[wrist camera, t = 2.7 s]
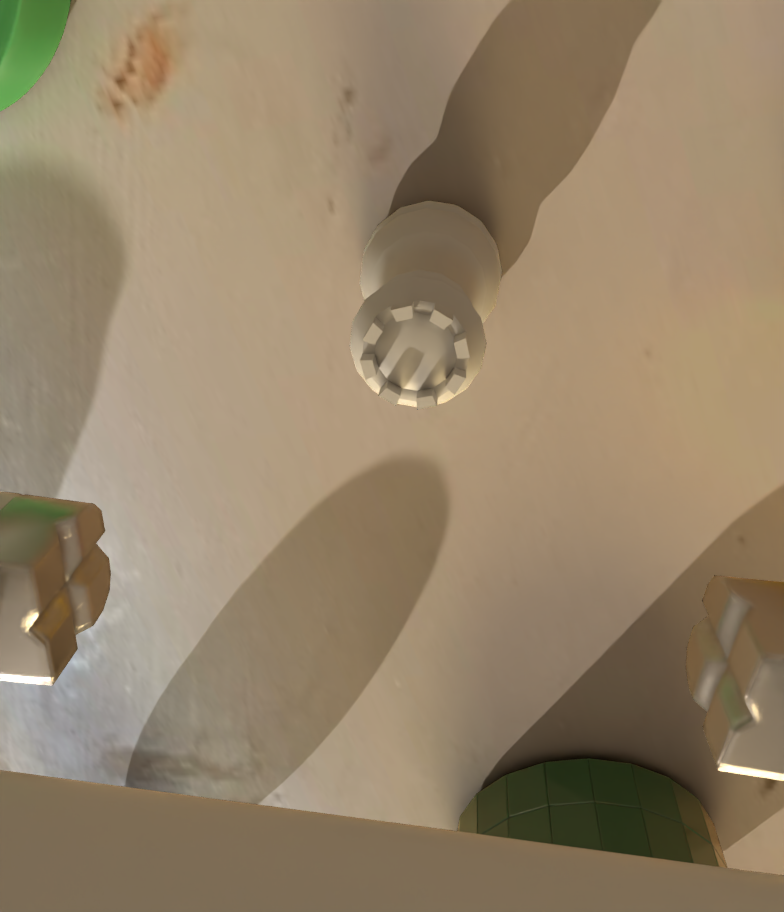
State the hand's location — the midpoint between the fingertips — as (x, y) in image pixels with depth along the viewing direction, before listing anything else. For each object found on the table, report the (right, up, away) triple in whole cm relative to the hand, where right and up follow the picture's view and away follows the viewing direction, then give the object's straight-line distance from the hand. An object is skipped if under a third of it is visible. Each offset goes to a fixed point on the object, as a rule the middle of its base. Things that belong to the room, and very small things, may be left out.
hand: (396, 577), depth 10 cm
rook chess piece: (+1, +8, +14) cm, 16 cm away
